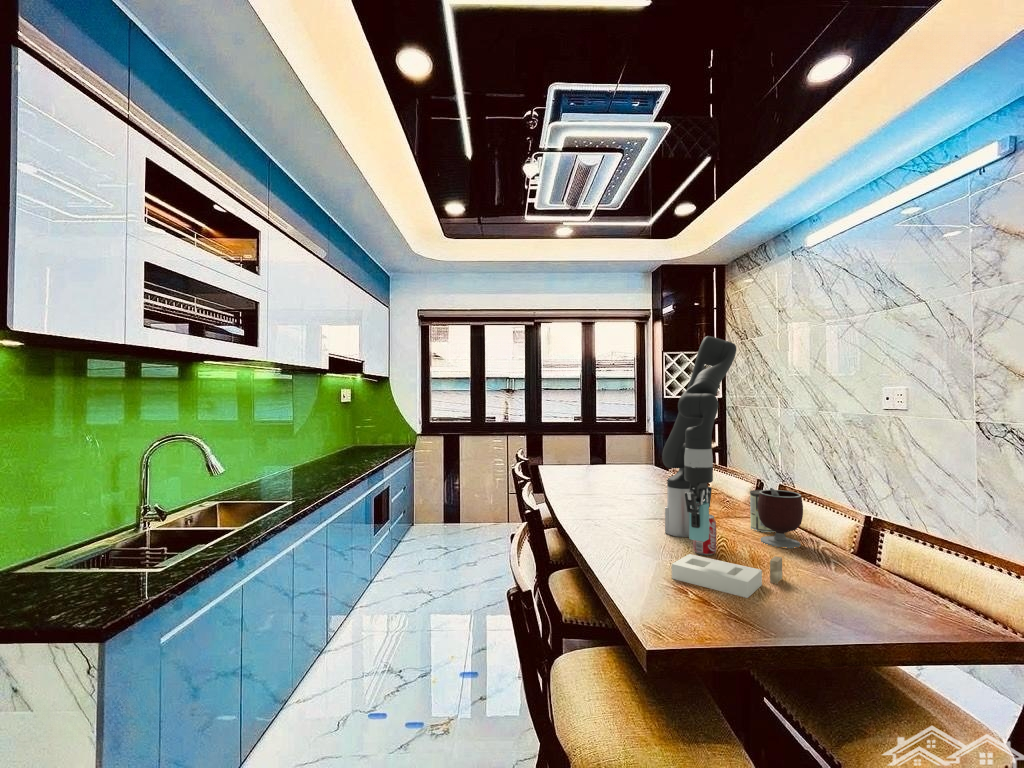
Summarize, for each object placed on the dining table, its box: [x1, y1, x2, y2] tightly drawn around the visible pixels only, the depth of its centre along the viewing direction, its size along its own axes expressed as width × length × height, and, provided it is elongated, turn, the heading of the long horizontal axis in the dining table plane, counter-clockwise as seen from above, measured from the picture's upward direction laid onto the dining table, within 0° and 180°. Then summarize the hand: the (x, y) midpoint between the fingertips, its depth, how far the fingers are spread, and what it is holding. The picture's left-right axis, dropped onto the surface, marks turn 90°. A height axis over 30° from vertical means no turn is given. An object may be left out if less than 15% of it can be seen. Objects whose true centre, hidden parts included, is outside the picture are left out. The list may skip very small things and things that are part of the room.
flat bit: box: [769, 555, 783, 585], centre depth 140 cm, size 2×5×6 cm, turn 138°
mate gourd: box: [758, 487, 804, 549], centre depth 175 cm, size 16×14×20 cm
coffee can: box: [749, 489, 775, 534], centre depth 193 cm, size 10×10×14 cm
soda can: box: [692, 513, 717, 556], centre depth 164 cm, size 7×7×12 cm
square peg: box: [688, 502, 710, 542], centre depth 143 cm, size 4×4×10 cm
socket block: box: [671, 553, 763, 599], centre depth 139 cm, size 20×12×4 cm, turn 48°
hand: (698, 525), depth 143 cm, fingers closed on square peg, 4 cm apart
